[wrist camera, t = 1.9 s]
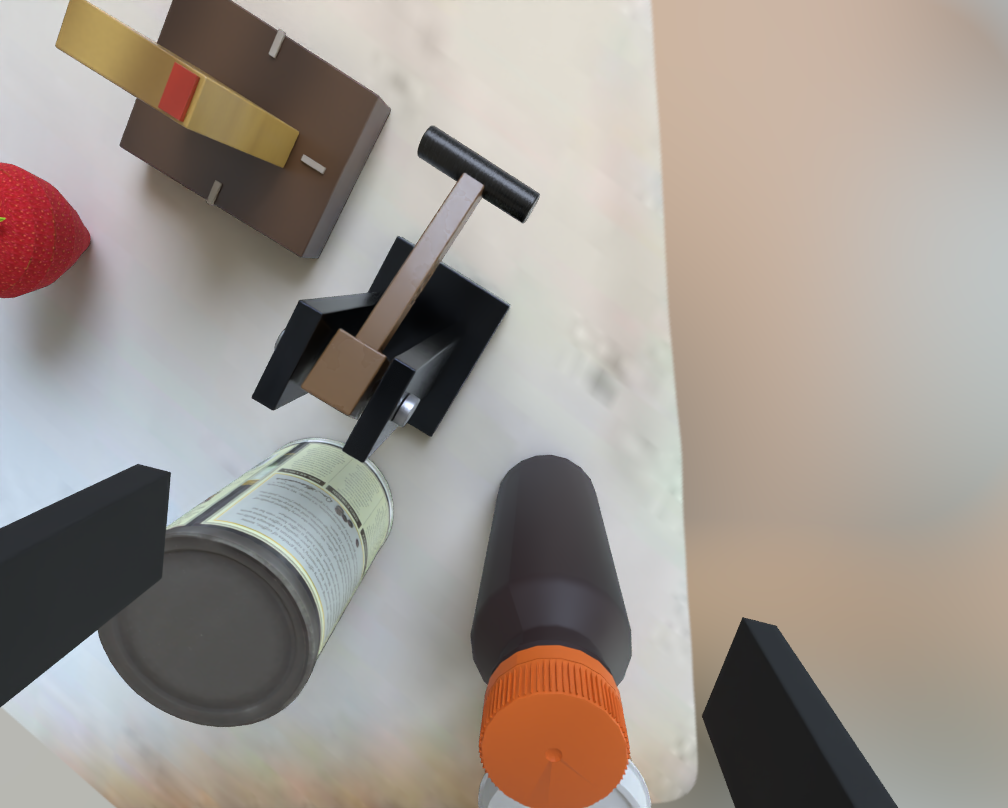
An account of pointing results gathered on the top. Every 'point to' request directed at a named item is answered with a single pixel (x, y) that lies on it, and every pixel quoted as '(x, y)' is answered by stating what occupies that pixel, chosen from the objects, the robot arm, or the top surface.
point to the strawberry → (35, 233)
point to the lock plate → (283, 93)
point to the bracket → (392, 350)
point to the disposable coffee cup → (623, 804)
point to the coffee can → (253, 586)
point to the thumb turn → (172, 84)
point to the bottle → (551, 642)
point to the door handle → (414, 272)
